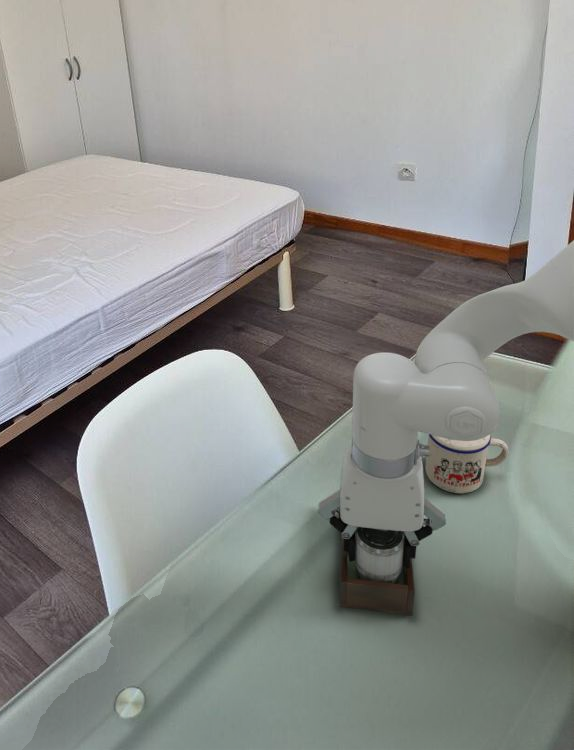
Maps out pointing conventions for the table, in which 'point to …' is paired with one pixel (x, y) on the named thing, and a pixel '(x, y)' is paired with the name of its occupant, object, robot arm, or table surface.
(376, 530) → the camera lens
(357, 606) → the holder
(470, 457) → the teacup with lid
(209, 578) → the table surface
